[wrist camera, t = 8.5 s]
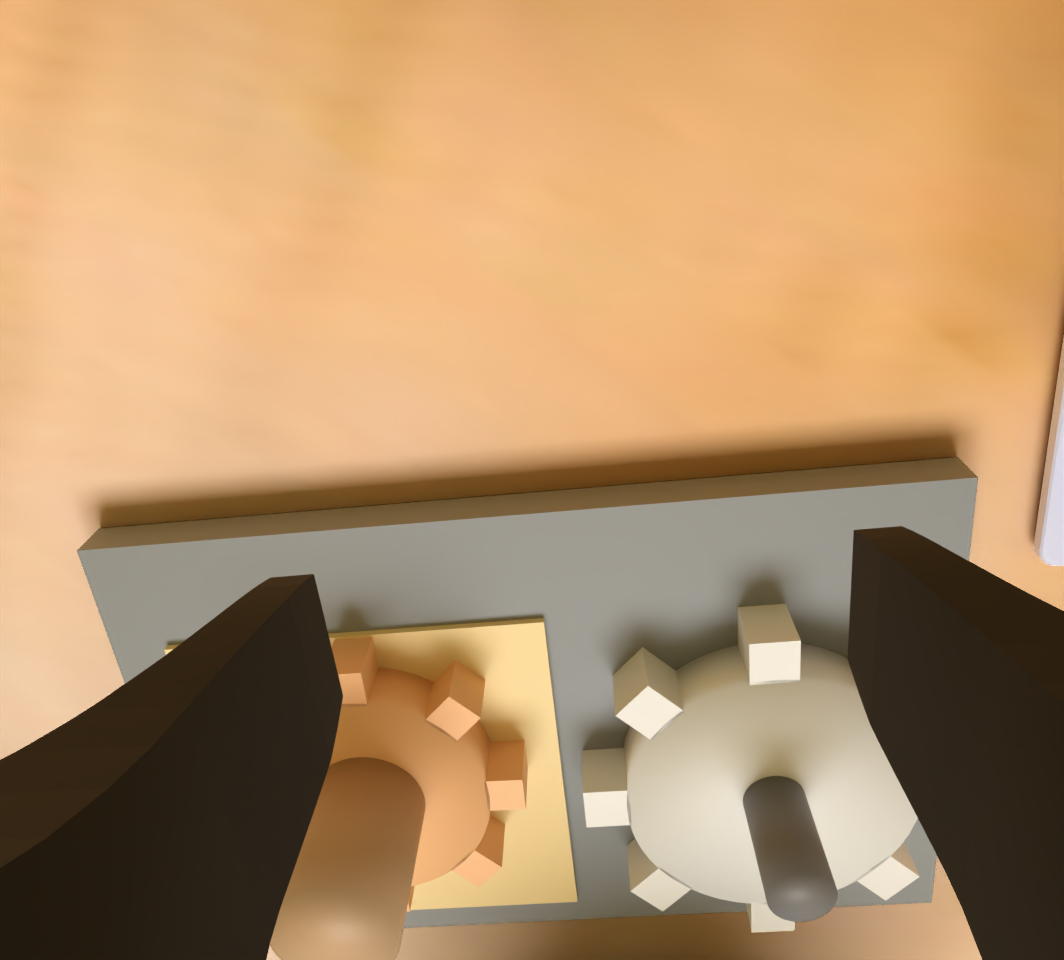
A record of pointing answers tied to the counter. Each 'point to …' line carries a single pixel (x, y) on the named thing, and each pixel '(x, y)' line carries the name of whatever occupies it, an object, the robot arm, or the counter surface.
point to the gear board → (611, 673)
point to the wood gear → (396, 807)
